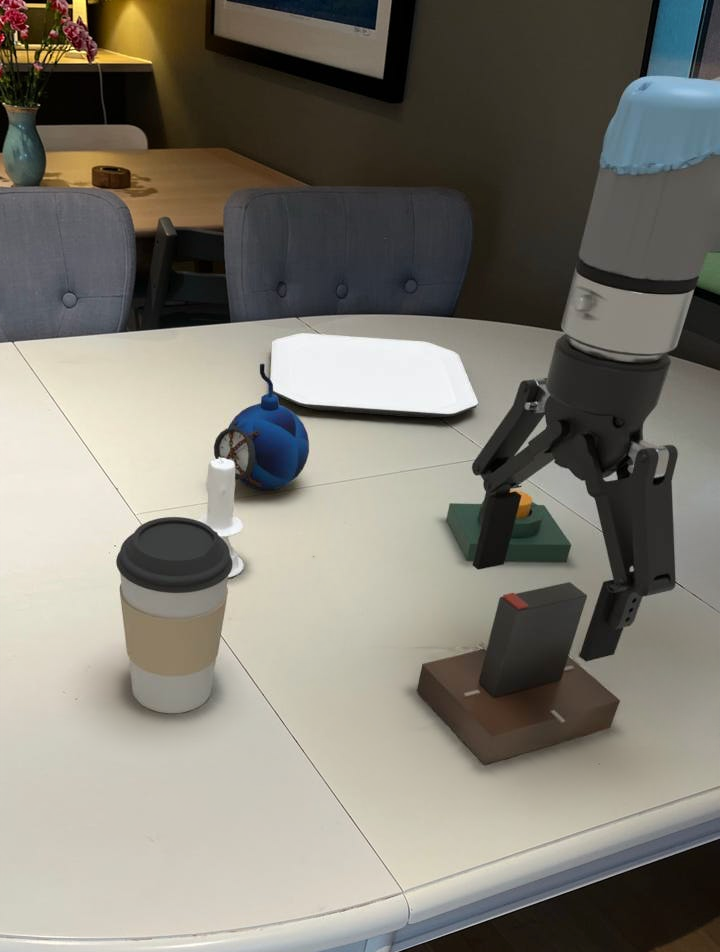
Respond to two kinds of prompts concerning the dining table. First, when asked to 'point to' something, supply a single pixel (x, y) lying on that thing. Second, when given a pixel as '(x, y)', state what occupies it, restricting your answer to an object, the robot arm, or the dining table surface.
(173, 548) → the coffee cup
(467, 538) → the box
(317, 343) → the plate
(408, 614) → the dining table surface
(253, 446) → the bomb
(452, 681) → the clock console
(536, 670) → the dark grey block
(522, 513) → the button
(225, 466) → the candle
